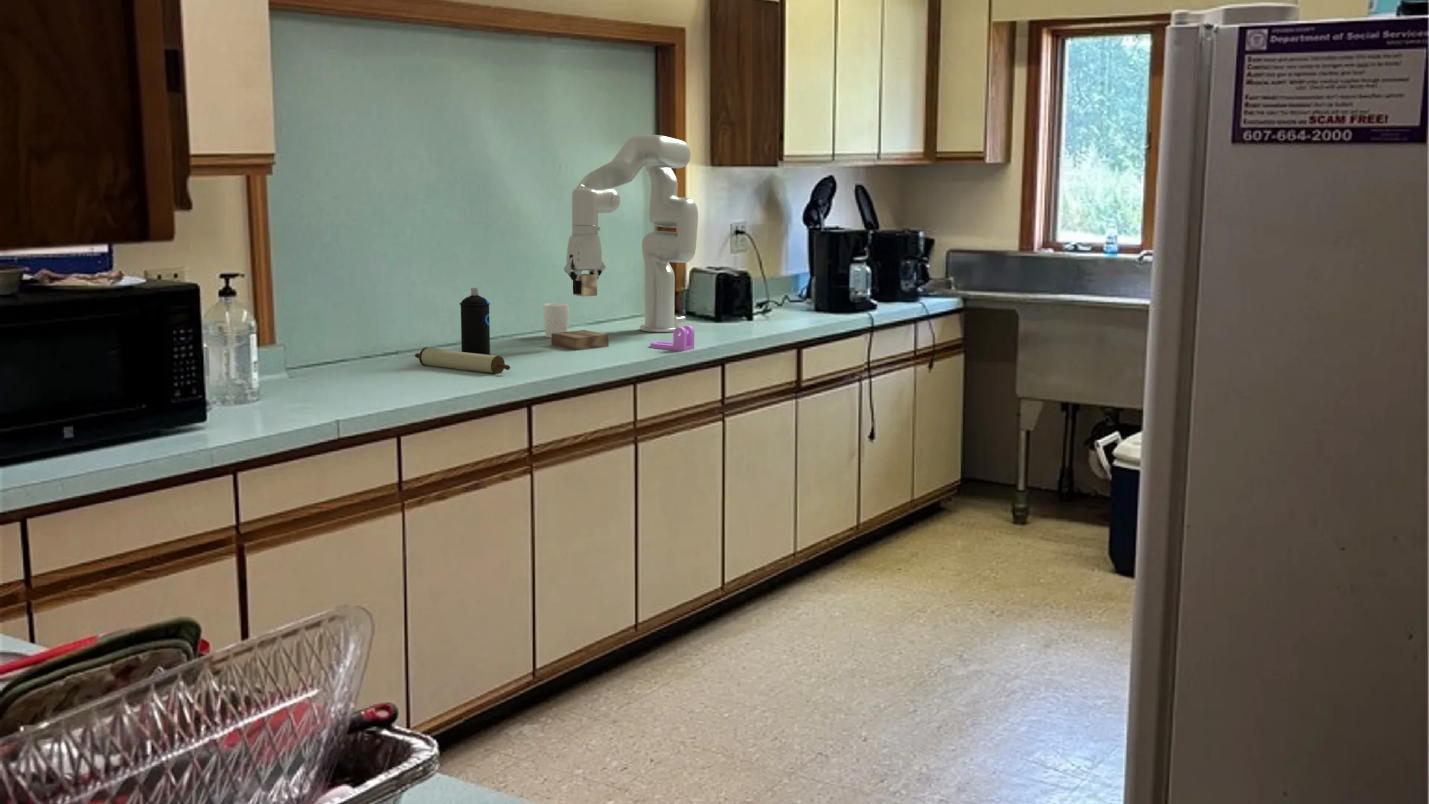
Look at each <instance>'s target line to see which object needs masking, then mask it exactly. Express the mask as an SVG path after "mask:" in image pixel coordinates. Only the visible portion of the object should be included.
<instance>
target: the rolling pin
mask: <svg viewBox="0 0 1429 804" xmlns="http://www.w3.org/2000/svg"><path fill="white" fill-rule="evenodd" d="M414 357H415V358H417V359H418V361H419V363H420V364H421V366H424V367H425V366H429V367H430V366H431V367H436V368H437V367H438V368H445V369H452V370H453V369H455V370H463V371H471V372H480V373H487V374H488V373H489V374H494V375H499V374H502V373H503V371H504V370H506V371H509V370H511V366H510V365H509V364H505V360H504V357H503V356H500V355H493V354H490V355H484V354H475V353H466V352H462V351H456V350H446V349H439V348H429V347H423V348H422V349H421V350H420V352H419V353H415V354H414Z"/></svg>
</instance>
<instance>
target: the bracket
mask: <svg viewBox="0 0 1429 804" xmlns="http://www.w3.org/2000/svg"><path fill="white" fill-rule="evenodd" d="M672 334H673V337H672V338H673V341H650V348H652V349H660V350H661V349H662V350H668V351H669V350H671V351H677V352H679V351H681V352H686V351H690V350H691V351H692V350H694V349H695V329H694V327H693V326H691V325H684V326H679V327H677V328H675V330H674V331H673V333H672Z"/></svg>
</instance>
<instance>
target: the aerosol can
mask: <svg viewBox="0 0 1429 804" xmlns="http://www.w3.org/2000/svg"><path fill="white" fill-rule="evenodd" d="M490 305H491V302H489V300H488V299H487V298H485V297H484V296H481V295H479V288H478V287H471V288H470V295H469V296H466V297H465V298H464V299H462V300H461V302H459V306H460V334H461V335H460V336H461V337H460V338H461V339H460V341H461V342H460V345H461V352H466V353H475V354H484V355H491V337H490V336H491V334H490V332H491V329H490V327H491V326H490V325H491V324H490V323H491V322H490Z"/></svg>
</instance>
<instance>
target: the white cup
mask: <svg viewBox="0 0 1429 804" xmlns="http://www.w3.org/2000/svg"><path fill="white" fill-rule="evenodd" d="M542 308H543V320H544V321H543V322H544V323H543V324H544V330H545V332H544V333H545V337H546V338H550V339H551V333H560V332H568V331H569V330H568V328H569V315H570V312H569V311H570V304H569V303H566V302H565V303H564V302H548V303H543V304H542Z"/></svg>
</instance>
